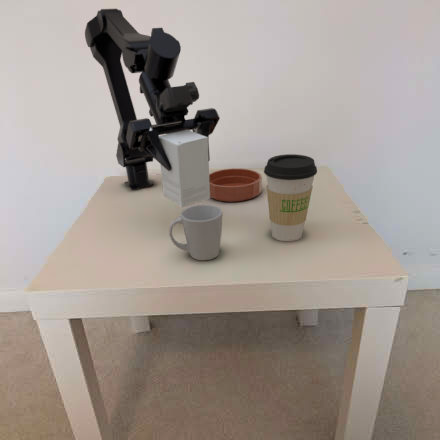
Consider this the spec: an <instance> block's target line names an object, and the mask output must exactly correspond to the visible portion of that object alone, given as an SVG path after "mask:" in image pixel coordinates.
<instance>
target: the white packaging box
mask: <svg viewBox="0 0 440 440" xmlns="http://www.w3.org/2000/svg"><path fill="white" fill-rule="evenodd" d="M159 140H160V143H161V145H162V147H163V149H164V151H165V153H166V156H167V158H168V160H169V162H170V165H171V170H170V171H168V170H167V169H166V168H165V167H163V166H162V165H161V164H160V173H161V182H162V190H163V191H162V192H163V198H165V199H167V200H169V201H171V202H172V203H174V204H175V205H177V206H178V207H180V208H185V207H186V208H187V207H190V206H193V205H194V204H197V203H201V202H204V201H207V200H209V199H210V198H211V197H210V184H209V174H210V160H209V156H210V155H209V156H208V137H206V136H203V135H200V134H197V133H195V132H193V131H192V130H183V131H178V132H174V133H170V134H163V135H159Z"/></svg>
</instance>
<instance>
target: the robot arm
mask: <svg viewBox="0 0 440 440" xmlns="http://www.w3.org/2000/svg"><path fill="white" fill-rule="evenodd" d="M84 38H85V43H86V45H87V47H88V48H89V49H90V52H91V54H92V58H94V60H95V61H96V62H97V63H98V64H99V65H100V66H101V67H102V70H103V73H104V77H105V79H106V83H107V86H108V89H109V93H110V96H111V101H112V103H113V106H114V110H115V114H116V117H117V120H118V124H119V132H118V133H117V143H118V144H117V147H116V148H117V149H116V155H115V156H116V160H117V163H118V165H120V166H121V167H122V168H125V171H126V172H125V173H126V176H127V177H126V178H127V181H125V182H124V184H125V186H126V187H128V189H130V190H132V191H135V190H138V189H144V188H147V187H152V186H154V185H155V183H154V182H153V181H151V180H150V179H149V178H150V177H149V169H148V164H147V163H150V162H151V163H152V162H154V160H155V161H157V162H158V163H159V164H160V166H161V165H162V166H163V167H165V168H166V169H167V170H168V171H170V170H171V165H170V162H169V160H168V158H167V156H166V153H165V151H164V149H163V147H162V145H161V143H160V140H159V136H162V135H166V134H170V133H174V132H178V131H183V130H190V131H192V132H195V133H197V134H200V135H203V136H206V137H208V156H209V161H210V160H211V159H210V142H209V140H210V139H209V137H210V135H212V134H213V132H215V131H214V130H215V129H216V127H217V125H218V123H219V122H220V115H219V113H218V111H217V110H216V108H214V107H210V108H204V109H197V110H196V112H195V115H194V117H193V118H188V119H186V116H188V113H189V108H188V107H190V106H193V104H194V103H195V102H197V101H198V100H199V99H200V93H199V89H198V87H197V85H196V83H195V81H190V82H189V81H188V82H186V83H185V84H184V85H177V86H172V85H171V83H170V81H169V80H170V79H172V78H173V77H174V74H175V71H176V67H177V64H178V61H179V57H180V54H181V51H182V49H181V48H182V46H181V43H180V41H179V40H178V39H176V37H174V36H173V35H172V34H170V33H168V32H165V31H164V29H163V27H153V28H151V32H150V35H148V34H142V33H140V32H138V30H136V28H135V27H134V26H133V25H132V24H131V23H130V22H129V21H128V20H127V19H126V17H124V14H123V12H122V10H121V9H118V8H101V9H100V10H98V11H97V12H96V15H95V16H94V17H93V18H91V19H90V20H89V21H87V23H86V26H85V30H84ZM121 59H122V61H123V65H124V66H125V68H126V69H127V70H128V72H130V74H139V73H140V75H139V78H138V83H139V93H140V94H143V96H144V98H145V101H146V103H147V105H148V107H149V109H148V114H149V116H150V117H153V119H154V122H155V124H152V121H151V119H149V118H148V117H145V118H140V119H139V118H137V114H136V111H135V107H134V104H133V100H132V97H131V94H130V89H129V86H128V83H127V79H126V75H125V72H124V68H123V65H122V61H121Z"/></svg>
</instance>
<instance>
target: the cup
mask: <svg viewBox="0 0 440 440" xmlns="http://www.w3.org/2000/svg"><path fill="white" fill-rule="evenodd" d="M176 225H182V229H183V233H184V237H185V241H186V243H182V242H178V241H177V240H176V239H175V238H174V236H173V228H174V227H175V226H176ZM222 226H223V210H222V208H221V207H219V206H218V205H217V206H216V205H214V204H196V205H190V206H187V207H186V208H184V209H183V210H182V211H181V212H180V215H179V216H178V217H177V218H175V219H174V220H172V221H171V223H170V224H169V230H168V232H169V238H170V240H171V242H172V243H173V245H174V246H176V248H178V249H179V250H182V251H184V252H188V253H189V255H190V257H191V258H193V259H195V260H197V261H209V260H213V259H215V258H217V257H218V256H219V255H220V251H221V241H222V240H221V239H222V230H223V229H222V228H223V227H222Z"/></svg>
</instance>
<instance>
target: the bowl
mask: <svg viewBox="0 0 440 440" xmlns="http://www.w3.org/2000/svg"><path fill="white" fill-rule="evenodd" d="M262 181H263V177H262V174H261V173H259V172H258V171H256V170H253V169H247V168H234V167H233V168H224V169H219V170H215V171H212V172H209V184H210V198H211V199H214V200H216V201H220V202H226V203H238V202H244V201H245V202H246V201H248V200H251V199H252V200H253V199H254V198H255V197H257V196H259V195H260V194H261V193H262V190H263V182H262Z"/></svg>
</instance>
